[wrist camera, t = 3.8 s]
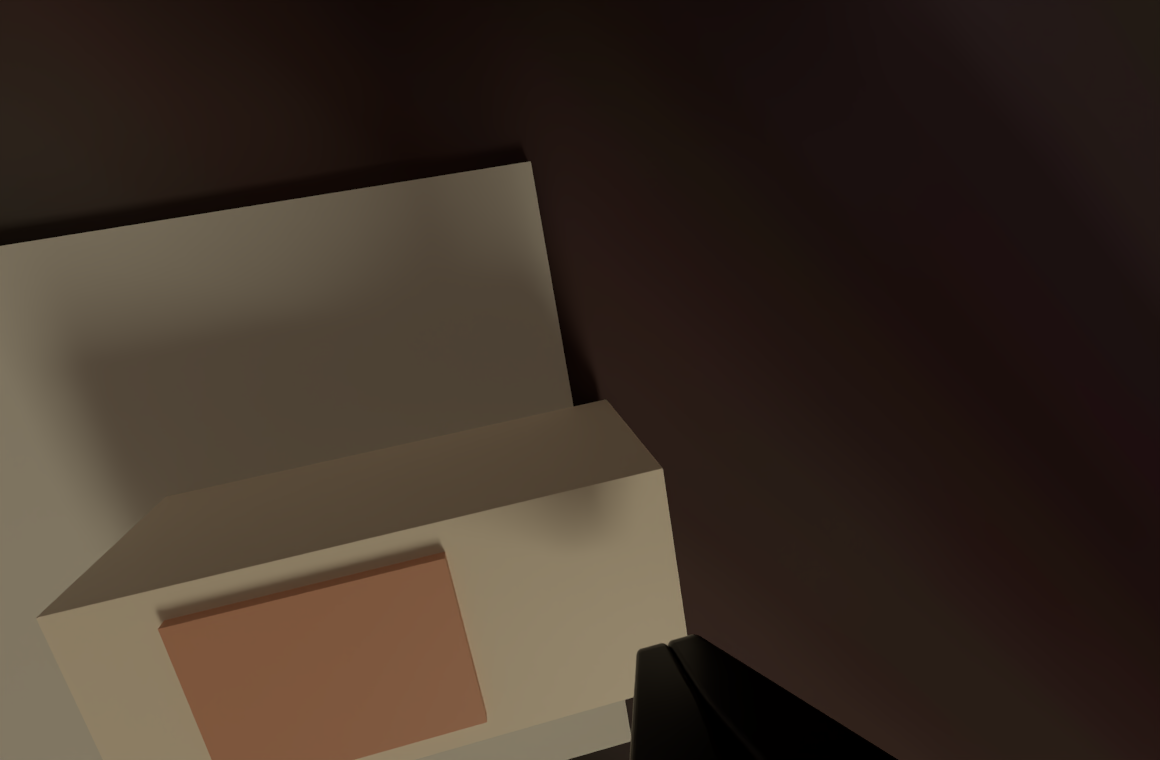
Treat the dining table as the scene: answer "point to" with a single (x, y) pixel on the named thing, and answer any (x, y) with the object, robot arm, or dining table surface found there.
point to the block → (379, 599)
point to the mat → (255, 385)
